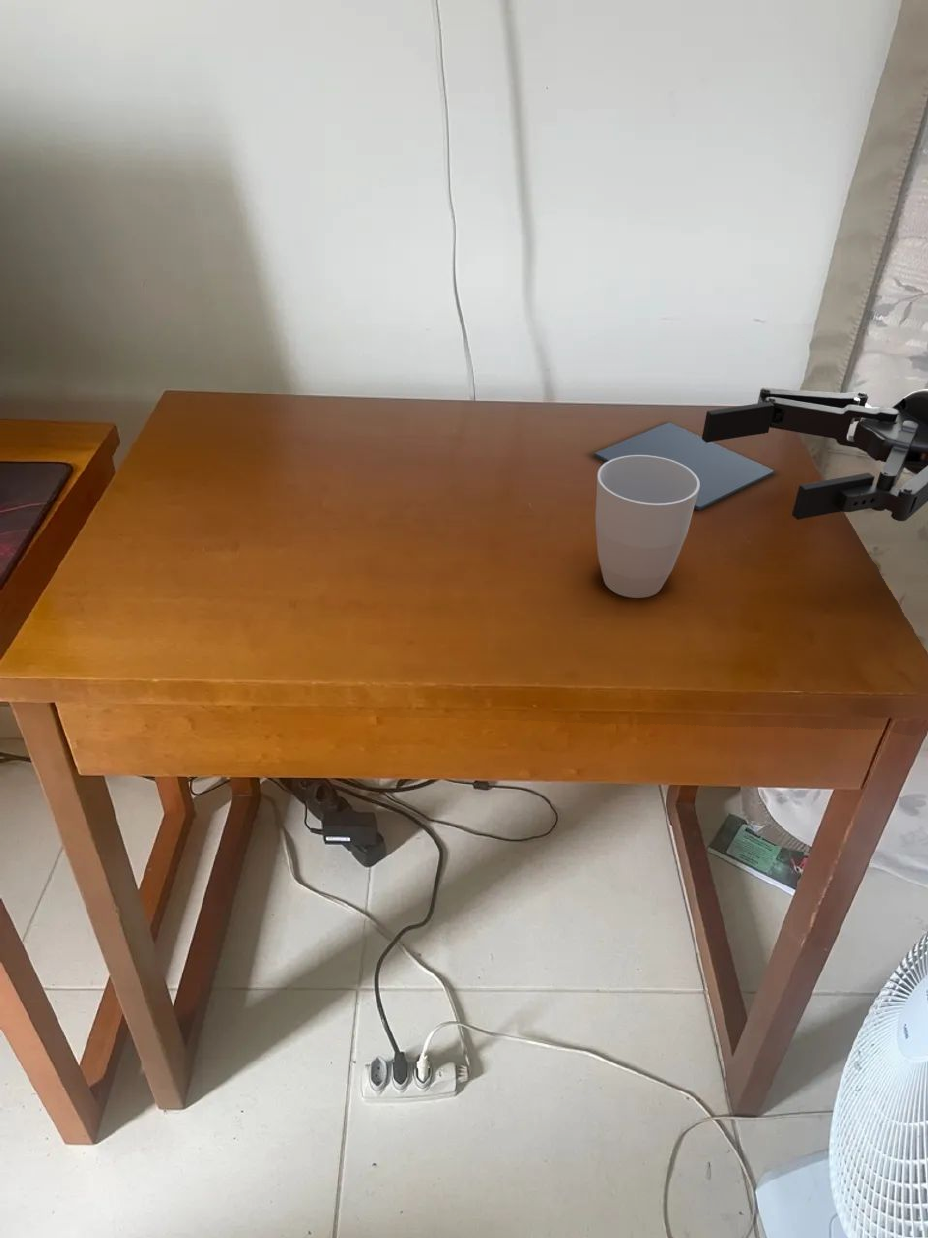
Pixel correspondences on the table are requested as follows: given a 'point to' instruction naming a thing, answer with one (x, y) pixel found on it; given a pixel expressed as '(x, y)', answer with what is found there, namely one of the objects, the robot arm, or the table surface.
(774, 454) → the table surface
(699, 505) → the mat
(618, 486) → the cup
